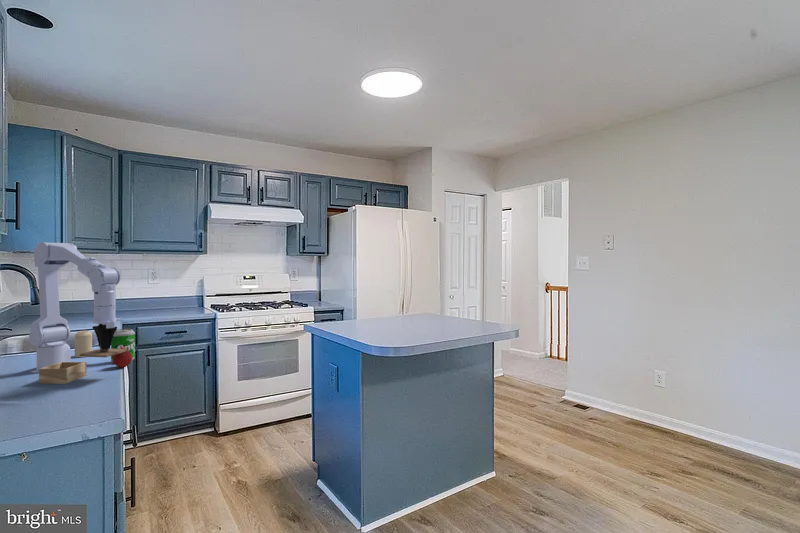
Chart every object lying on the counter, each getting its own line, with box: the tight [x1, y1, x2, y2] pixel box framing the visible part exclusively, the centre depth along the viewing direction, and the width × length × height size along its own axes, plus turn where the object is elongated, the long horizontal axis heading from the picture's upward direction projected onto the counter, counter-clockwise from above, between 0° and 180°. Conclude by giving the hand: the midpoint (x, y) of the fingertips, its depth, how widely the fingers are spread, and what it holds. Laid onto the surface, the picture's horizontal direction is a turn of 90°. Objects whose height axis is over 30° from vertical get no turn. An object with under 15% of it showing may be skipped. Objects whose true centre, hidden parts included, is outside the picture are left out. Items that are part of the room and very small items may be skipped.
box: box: [38, 361, 87, 385], centre depth 136 cm, size 9×8×5 cm
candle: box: [74, 330, 93, 358], centre depth 171 cm, size 6×6×10 cm
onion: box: [112, 346, 133, 369], centre depth 152 cm, size 6×6×8 cm
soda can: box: [110, 328, 136, 363], centre depth 162 cm, size 8×8×12 cm
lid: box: [79, 345, 127, 358], centre depth 138 cm, size 10×9×5 cm
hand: (104, 348), depth 138 cm, fingers closed on lid, 2 cm apart
